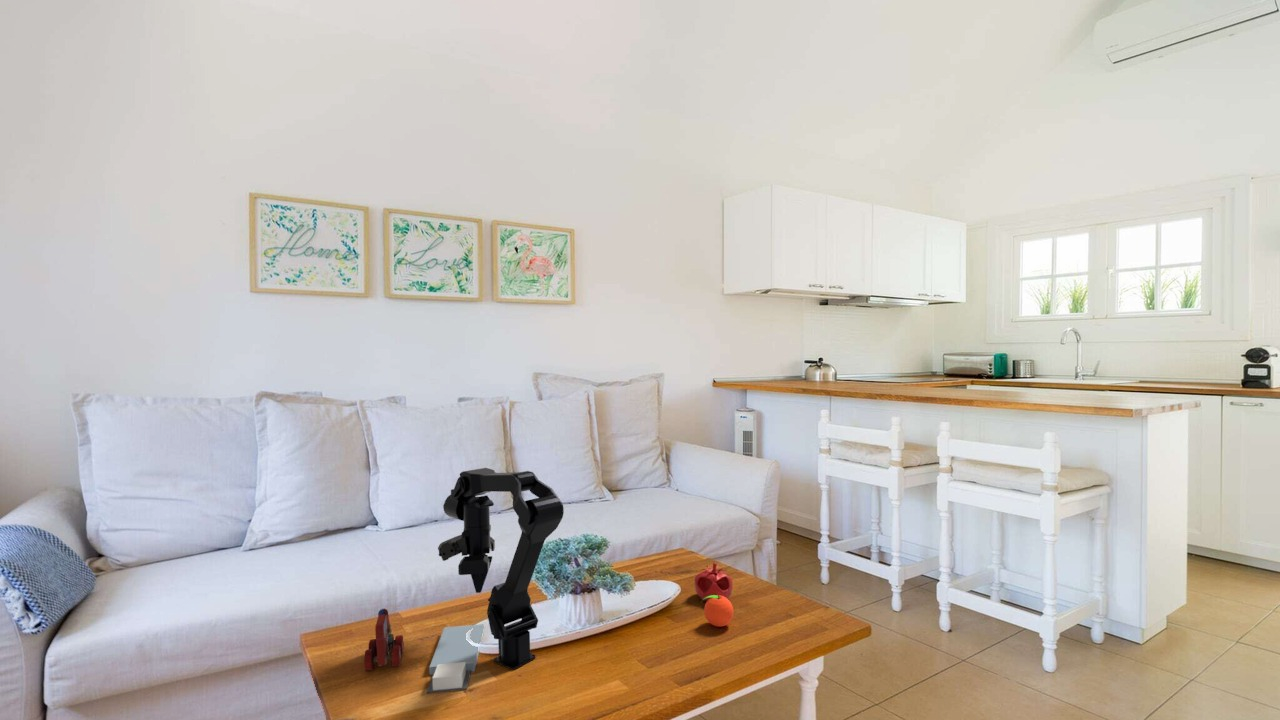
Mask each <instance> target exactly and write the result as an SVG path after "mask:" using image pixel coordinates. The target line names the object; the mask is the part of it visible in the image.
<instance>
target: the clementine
mask: <svg viewBox="0 0 1280 720" xmlns="http://www.w3.org/2000/svg"><path fill="white" fill-rule="evenodd" d="M706 598H710V599H708V601H705V604H704V608H703V612H704V616H705V619H706V620H707V621H708V623H709V624H710V625H712V626H714V627H718V628H719V627H720V628H721V627H725V626H727V625H728V624H730V622H731V621H732V619H733V617H734V613H735V611H734V606H733V604H732V602H731V601H730V600H729V598H728V599H727V598H725V597H724V596H721V595H711V596H708V597H706ZM706 598H704V599H706ZM704 599H703V600H702V599H701V602H703V601H704Z"/></svg>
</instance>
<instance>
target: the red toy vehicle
mask: <svg viewBox="0 0 1280 720" xmlns="http://www.w3.org/2000/svg"><path fill="white" fill-rule="evenodd" d="M377 615H378V617H377V619H376V623H375V627H374V628H375V629H374V630H375V638H374V639H370V640H369V642H368V649H366V650H365V652H364V659H363V662H364V665H363V666H364V671H372V670H373V669H374V667H375V662H376V663H377V666H378V667H381V666H382V667H383V666H386V665H387V663H388V660H391V665H392V667H393V668H394V667H399V666H400V665H401V659H402V655H403V654H404V649H405V648H404V645H405V644H404V636H403V635H402V634H401V635H400V634H399V635H396V636H395V637H394V634H393V633H392V631H393V627H392V625H391V623H390V616H389V611H388V609H386V608H381V609H380V610H378V614H377ZM389 653H390V654H389Z"/></svg>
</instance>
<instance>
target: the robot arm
mask: <svg viewBox="0 0 1280 720" xmlns="http://www.w3.org/2000/svg"><path fill="white" fill-rule="evenodd" d="M527 491H529V492H530V493H531V494H533V495H534V496H536V497H537V498H532V499H527V500H525V499H524V498H523V497H522V493H523V492H527ZM491 492H503V493H504V492H505V493H506V492H510V493H511V494H512V509H513V511H514V512H515V514H516V516H517V517H518V518H517V522H518V525H519V528H520V531H521V534H520V537H519V540H518V543H517V546H516V549H515V552H514V555H513V558H512V560H511V565H510V567H509V570H508V573H507V576H506V579H505V582H503V583H499V584H496V585H493V587H492V588H491V592H490V593H491V594H490V596H489V597H488V599H487V601H488V605H487V609H486V611H487V612H486V614H487V619H488V623H489V625H488V626H489V629H490V634H491V635H492V636H493V639H494V640H498V641H497V642H498V643H497V644H498V656H497V657H494V659H493V662H494V663H496V664H499V665H501V666H504V667H506V668H509V669H510V670H516V669H518V668H520V667H522V666H523V665H526V664H527V663H529V662H530V661H533V660H535V659H536V657H537V655H536V654H534V653H531V637H530V636H531V634H530V633H531V632H530V630H532V629H536V628H537V627H538V622H539V618H538V616H537V614H536V612H535V611H534V609H533V606H532V604H531V596H530V594H529V592H528V590H529V586H530V583H531V580H532V577H533V576H534V571H535V569H536V565H537V563H538V561H539V558H540V555H541V552H542V550H543V546H544V544H545V541H546V539H547V538H548V537H549V536H550V535H552V534H553V532H555V531H556V530H557V528H558V526H559V525H560V523H561V522H562V520H563V518H564V511H565V510H564V509H565V508H564V504H563V502H562V501H561V500H560V498H559V496H558V495H557V494H556V492H555V491H554V489H553V488H552V487H550V486H549V485H548V484H546V483H544V482H542V480H539V478H538V477H537V475H536V474H535V473H534V472H533V471H530V470H526V471H521V472H520V471H519V472H516V471H515V472H495V470H494V469H492V468H488V467H482V468H476V469H471V470H470V469H469V470H463V471H461V472H460V473H459V477H458V478H457V479H456V483H455V484H454V488H453V489H450V495H448V496H447V497H446V499H445V500H444V503H443V505H442V506H443V507H442V508H443V511H444V513H445V515H446V516H448V517H451V518H453V519H456V520H458V521H463V531H462V532H461V534H459V535H457V536H454V537H451V538H449V539H446V540H445V541H442V542H441V543H440V544H439V545H438V546H437V550H438V557H441V559H442V561H443V562H445V561H447V560H449V559H450V558H452V557H455V556H457V555H460V554H461V557H462V556H463V558H461V560H460V561H459V563H458V571H457V572H458V575H460V576H467V575H469V576H471V580H472V583H473V588H474V590H475V593H476V594H480V593H482V590H483V588H484V585H485V582H486V579H487V576H488V573H489V570H490V567H491V564H492V561H493V556H491V555H490V556H489V555H488V554H490V552H494V551H495V548H496V543H495V541H496V540H495V539H494V538H493V537H492V536H491V530H492V527H491V526H492V525H491V522H490V521H491V520H490V519H491V518H490V508H491V507H493V506H494V505H495V503H494V502H493V500H492V499H490V497H489V496H488V494H487V493H491ZM486 494H487V495H486Z"/></svg>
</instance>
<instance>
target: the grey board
mask: <svg viewBox="0 0 1280 720" xmlns="http://www.w3.org/2000/svg"><path fill="white" fill-rule="evenodd" d="M472 628H473V630H472V631H471V634H470V636H471V637H470V639H471V640H472V641H473V642H475V643H478V644H479V643H480V642H481V637H482V633H483V628H484V629H485V624H484V623H482V624H470V625H458V626H456V625H455V626H445V627H444V628H443V630H442V632H441V635H440V637H439V641H438V643H437V646H436V649H435V650H434V651H435V652H434V654H433V657H432V659H431V663H430V665H429V667H428V668H429V675H430V676H432V675H433V674H434V673H435V670H436V668H437V665H438V664H448V663H460V662H466V671H469V670H471V672H474V671H476V668H477V663H478V658H479V653H480V650H479V651H478V647H475V646H472V645H471V644H470V643H469V642H468V641H467V640H466V633H467V632H468V631H469V630H471V629H472ZM483 634H484V633H483ZM482 638H483V637H482ZM481 643H482V642H481Z"/></svg>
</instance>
